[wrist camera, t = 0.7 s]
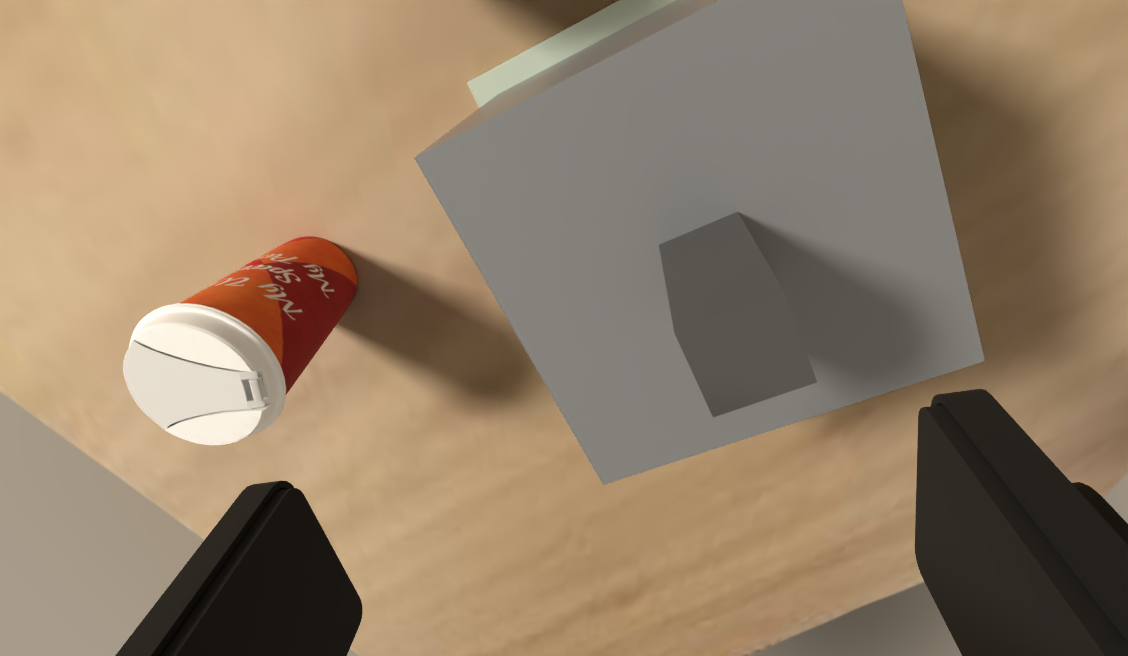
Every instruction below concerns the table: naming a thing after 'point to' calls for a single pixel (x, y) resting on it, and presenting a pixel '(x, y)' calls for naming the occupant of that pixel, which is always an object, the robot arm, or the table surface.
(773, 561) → the table surface
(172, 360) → the coffee cup
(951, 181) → the table surface
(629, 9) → the mat
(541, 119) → the grey knobbed cube
